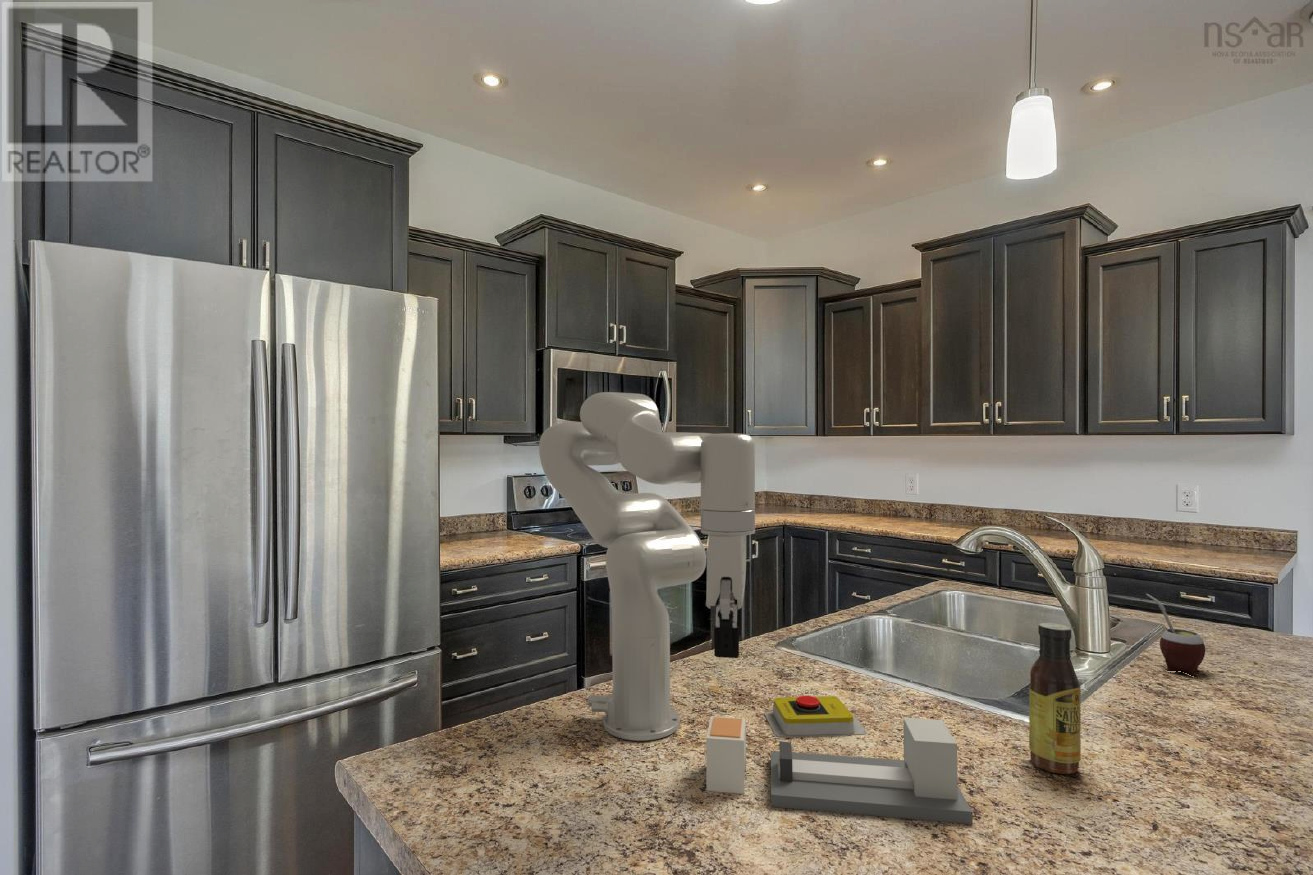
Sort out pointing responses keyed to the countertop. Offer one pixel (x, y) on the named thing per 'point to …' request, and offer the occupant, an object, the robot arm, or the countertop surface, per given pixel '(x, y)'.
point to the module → (726, 754)
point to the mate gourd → (1181, 647)
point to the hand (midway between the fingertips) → (728, 645)
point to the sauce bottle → (1054, 704)
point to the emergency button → (812, 717)
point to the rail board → (877, 779)
